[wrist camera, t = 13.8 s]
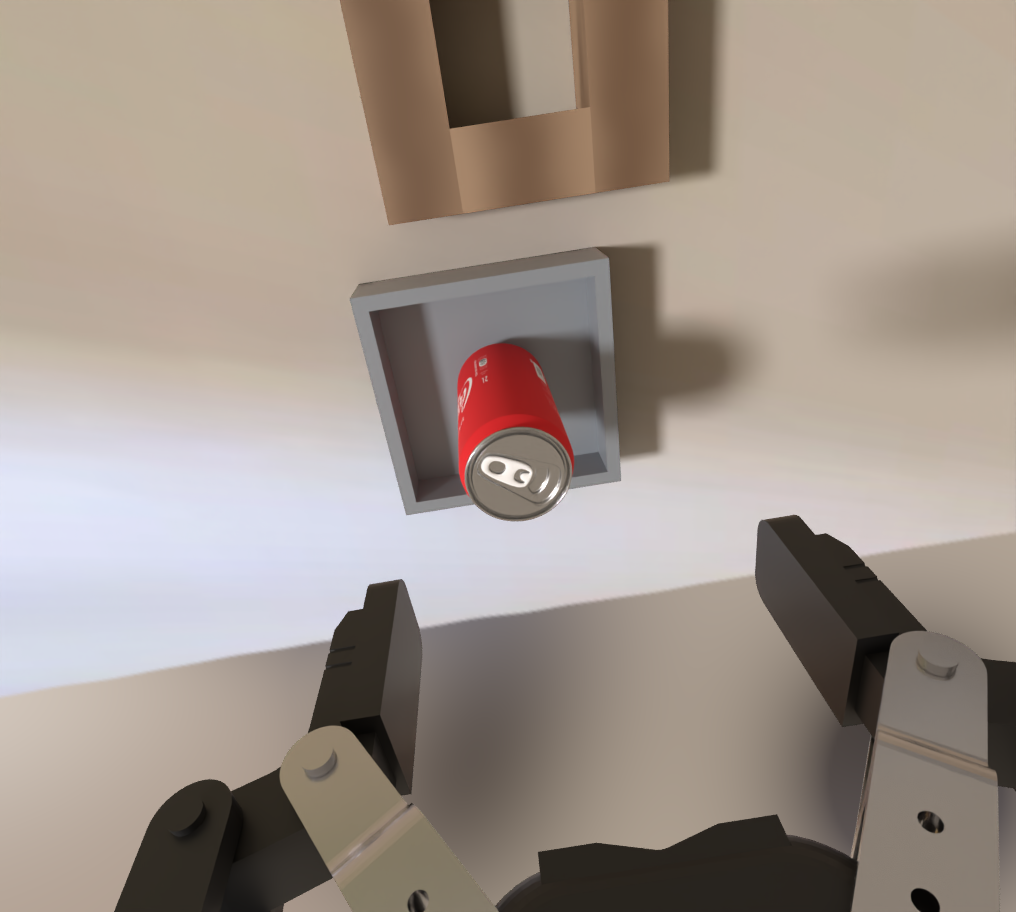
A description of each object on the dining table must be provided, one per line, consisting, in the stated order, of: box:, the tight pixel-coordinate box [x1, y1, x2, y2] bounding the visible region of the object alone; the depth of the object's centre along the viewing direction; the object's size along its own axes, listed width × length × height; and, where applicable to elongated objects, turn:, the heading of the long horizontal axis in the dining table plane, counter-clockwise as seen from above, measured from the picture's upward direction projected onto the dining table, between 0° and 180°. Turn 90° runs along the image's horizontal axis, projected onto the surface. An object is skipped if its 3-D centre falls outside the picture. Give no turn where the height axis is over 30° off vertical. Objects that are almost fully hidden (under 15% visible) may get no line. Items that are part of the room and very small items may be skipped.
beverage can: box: [457, 343, 574, 521], centre depth 31 cm, size 5×5×12 cm
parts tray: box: [350, 247, 621, 515], centre depth 36 cm, size 14×14×4 cm
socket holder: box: [340, 0, 669, 225], centre depth 28 cm, size 14×14×4 cm
